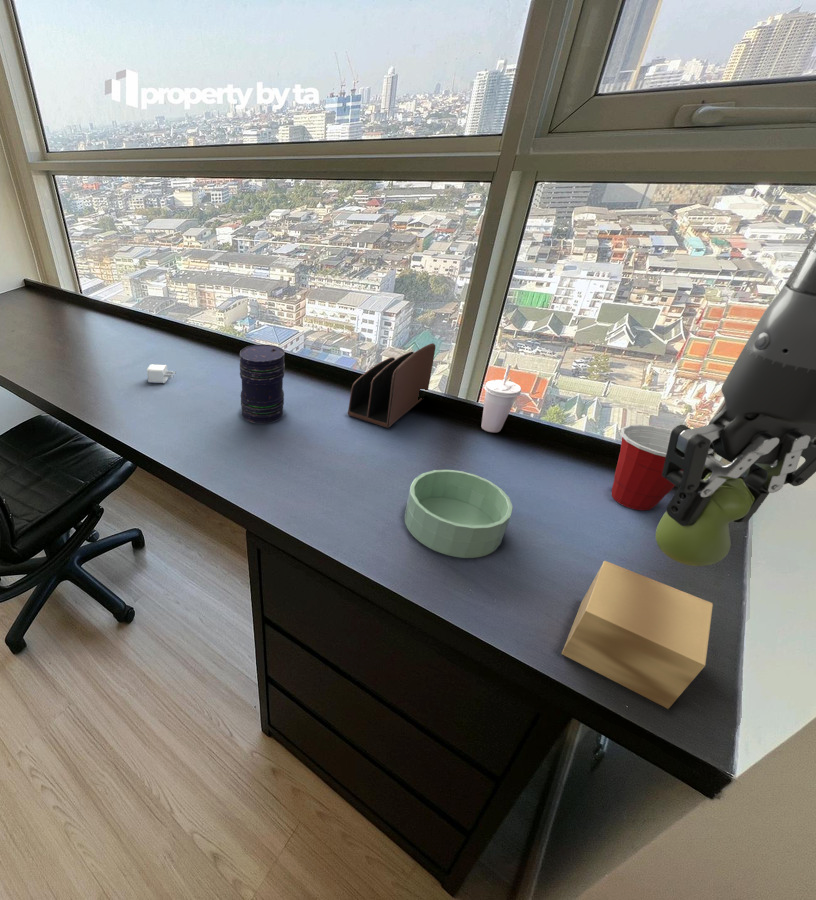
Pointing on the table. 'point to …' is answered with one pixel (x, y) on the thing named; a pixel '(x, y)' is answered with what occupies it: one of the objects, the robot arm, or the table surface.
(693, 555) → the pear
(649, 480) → the plastic cup
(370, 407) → the letter holder
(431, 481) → the pot
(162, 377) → the usb wall charger
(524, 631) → the table surface
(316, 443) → the table surface
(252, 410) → the dark blue canister
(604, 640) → the block
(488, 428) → the smoothie
